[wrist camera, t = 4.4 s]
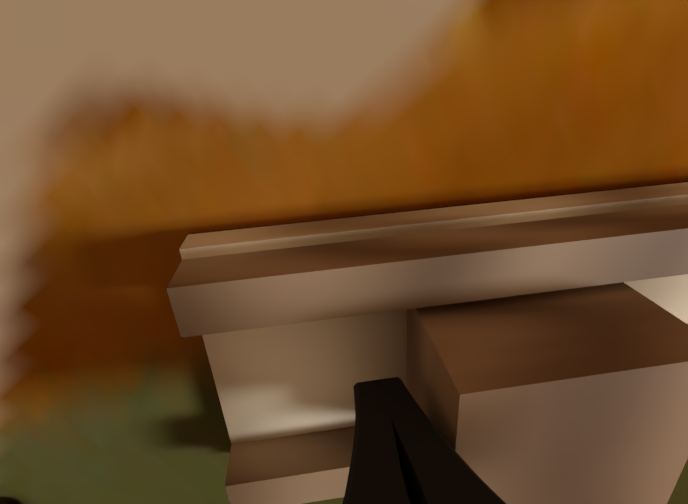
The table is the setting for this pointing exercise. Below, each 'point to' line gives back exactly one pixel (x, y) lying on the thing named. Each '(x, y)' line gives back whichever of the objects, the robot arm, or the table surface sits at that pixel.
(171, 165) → the table surface
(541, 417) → the walnut block
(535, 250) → the chute
